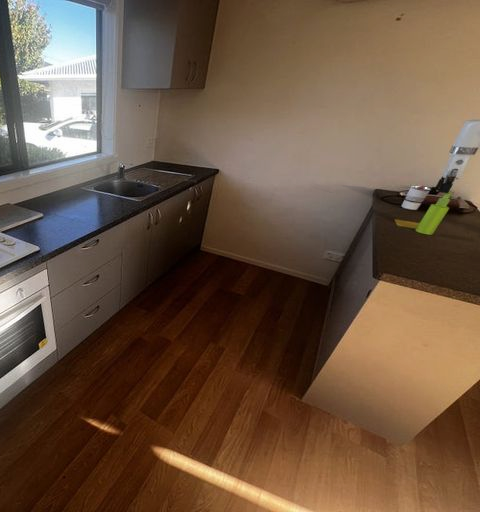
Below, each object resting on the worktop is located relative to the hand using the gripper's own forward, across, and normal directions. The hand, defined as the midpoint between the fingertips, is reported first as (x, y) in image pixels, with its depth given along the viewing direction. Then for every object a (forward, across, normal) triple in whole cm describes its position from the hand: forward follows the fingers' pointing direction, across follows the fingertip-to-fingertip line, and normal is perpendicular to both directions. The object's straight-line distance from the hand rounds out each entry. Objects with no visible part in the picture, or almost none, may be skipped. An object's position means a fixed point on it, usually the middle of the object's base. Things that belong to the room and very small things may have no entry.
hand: (441, 190), depth 133 cm
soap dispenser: (+20, -4, 0) cm, 20 cm away
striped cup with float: (+20, +40, +3) cm, 44 cm away
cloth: (+20, +4, +3) cm, 20 cm away
